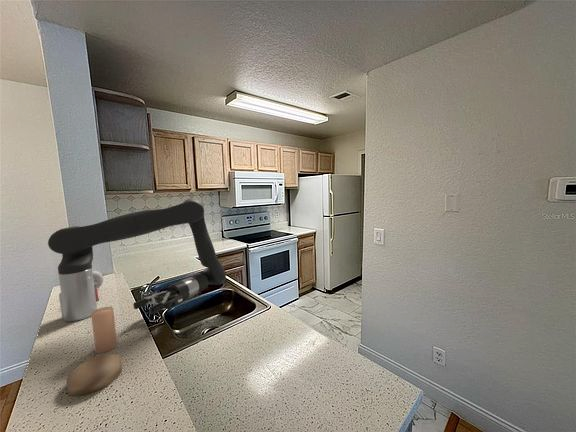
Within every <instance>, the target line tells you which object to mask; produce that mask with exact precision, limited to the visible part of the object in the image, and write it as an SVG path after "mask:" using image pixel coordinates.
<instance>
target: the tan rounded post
mask: <svg viewBox="0 0 576 432" xmlns="http://www.w3.org/2000/svg"><path fill="white" fill-rule="evenodd" d="M90 317H91V325H92V332H93V333H92V334H93V342H94V348H95V350H94V351H95V353H96V354H103V353H107V352H110V351H112V350H114V348H116V347H117V346H118V337H117V330H116V321H115V311H114V307H113V306H105V307H100V308H97V310H95V311H93V312H92V313H91V316H90Z"/></svg>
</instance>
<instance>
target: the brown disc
mask: <svg viewBox="0 0 576 432" xmlns="http://www.w3.org/2000/svg"><path fill="white" fill-rule="evenodd" d="M122 370H123V366H122V358H121V356H120V355H118V354H113V353H111V354H103V355H99V356H96V357H94V358H91V359H89V360H87V361H84V362H83V363H81V364H80V365H78V366H76V367H75V368H74V369H73V370H71V372H70V373H69V374H68V375H67V377H66V388H67V393H68V394H69V395H70V396H73V397H81V396H82V397H83V396H87V395H91V394H93V393H97V392H98V391H100V390H102V389H103V388H107V387H108V386H109V385H111V383H113V382H114V381H115V380H116V379H118V378H119V376H120V375H121V373H122Z"/></svg>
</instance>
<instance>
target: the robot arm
mask: <svg viewBox="0 0 576 432" xmlns="http://www.w3.org/2000/svg"><path fill="white" fill-rule="evenodd" d="M205 220H206V219H205V207H204V205H203V203H202V201H200V200H199V199H196V198H187V199H186V200H184V201H183V202H181V203H179V204H176V205H173V206H169V207H166V208H158V209H145V210H139V211H134V212H130V213H129V212H128V213H125V214H122V215H118V216H115V217H111V218H109V219H106V220H103V221H101V222H98V223H94V224H89V225H84V226H76V225H75V226H69V227H64V228H60V229H58V230H56V231H54V232H53V233H51V235H50V237H49V238H48V241H47V245H48V248H49V249H50V250H51V251H53V252H54V253H56V254H60V255H61V256H62V258H61V260H60V262H59V264H58V266H57V272H58V280H59V288H60V293H59V294H58V297H59V304H60V312H61V319H63V320H64V321H65V322H77V321H81V320H84V319H86V318H89V317H91V313H92V312H93V311H95V310H97V309H98V307H97V302H96V296H95V288H94V280H93V272H92V271H93V260H94V251H93V246H96V245H100V244H105V243H110V242H111V243H112V242H117V241H123V240H127V239H131V238H136V237H140V236H143V235H147V234H150V233H153V232H157V231H160V230H163V229H166V228H170V227H173V226H179V225H185V224H188V225H189V227H190V230H191V233H192V235H193V240H194V244H195V249H196V252H197V256H198V259H199V260H200V265H202V267H204V268H206V269H204V270H202V271H201V272H199V273H198V274H196V275H193V276H191V277H188V278H184V279H182V280H180V281H177V282H174V283H171V284H170V285H169V286H168V287H167V289H166V290H163V291H161V292H160V290H159V289H158V290H155V291H152V292H149V293H147V294H144V295H142V299H139V300H138V301H135V302H134V303H133V305H132V306H133V309H134V310H138V309H140V308H142V307H145V306H147V305H150V304H151V305H152V306H150V307H149V308H148V309H149V314H150V315H154V314H155V313H157V312H160V311H163V310H168V311H170V310H172V309H174V308H175V307H177V306H179V305H181V304H184V301H186V300H188V299H190V298H192V297H194V296H195V295H197V294H198V293H201V292H203V291H204V290H206V289H207V288H208V286H209V285H215V286H216V285H222V284H223V283H225V281H226V279H227V272H226V270H225V268H224V266H223V265H222V263H221V262H220V260H219V258H218V257H217V253H216V251H215V248H214V245H213V242H212V240H211V237H210V234H209V231H208V228H207V225H206V221H205Z"/></svg>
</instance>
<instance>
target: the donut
mask: <svg viewBox="0 0 576 432" xmlns="http://www.w3.org/2000/svg"><path fill="white" fill-rule="evenodd" d="M92 272H93V278H94V279H95V281H94V282H96V283H97V290H98V289H99V288H100V287H102V285H103V283H104V277H103V274H102V273H101V272H99V271H98V270H92Z"/></svg>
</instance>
